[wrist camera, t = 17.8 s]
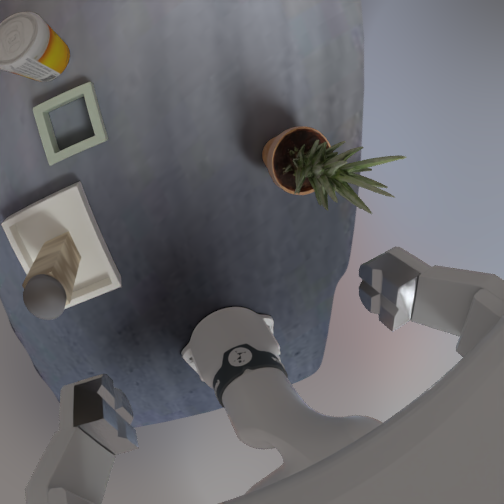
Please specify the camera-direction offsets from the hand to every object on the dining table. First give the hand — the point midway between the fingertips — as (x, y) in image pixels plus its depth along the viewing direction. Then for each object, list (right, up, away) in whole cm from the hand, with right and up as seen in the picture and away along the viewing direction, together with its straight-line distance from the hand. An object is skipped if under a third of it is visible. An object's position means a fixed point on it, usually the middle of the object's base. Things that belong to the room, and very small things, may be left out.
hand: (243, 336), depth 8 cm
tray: (-27, +3, +30) cm, 41 cm away
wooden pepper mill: (-27, +3, +29) cm, 40 cm away
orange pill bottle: (-26, +27, +18) cm, 42 cm away
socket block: (-23, +19, +24) cm, 38 cm away
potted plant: (+4, +17, +37) cm, 41 cm away
